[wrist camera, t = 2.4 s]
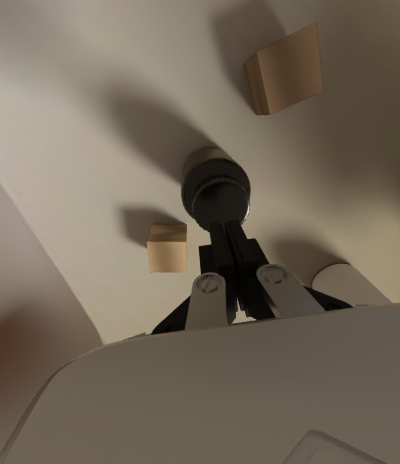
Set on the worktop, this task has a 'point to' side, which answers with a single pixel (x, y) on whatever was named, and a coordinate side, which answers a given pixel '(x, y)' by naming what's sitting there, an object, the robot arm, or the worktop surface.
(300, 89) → the walnut block
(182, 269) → the maple block
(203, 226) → the supplement bottle
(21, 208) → the worktop surface
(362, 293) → the pill bottle
